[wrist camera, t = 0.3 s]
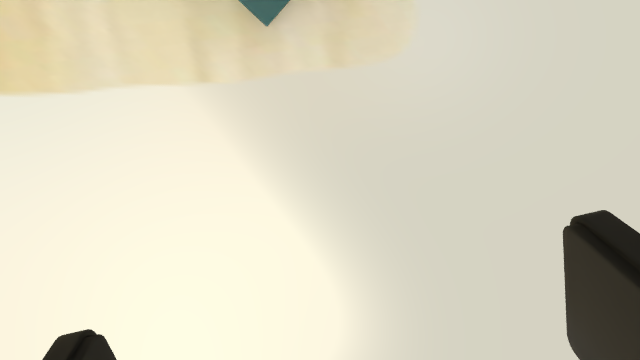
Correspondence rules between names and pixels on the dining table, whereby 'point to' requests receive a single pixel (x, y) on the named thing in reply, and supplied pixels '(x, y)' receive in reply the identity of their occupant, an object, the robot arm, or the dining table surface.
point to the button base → (265, 8)
